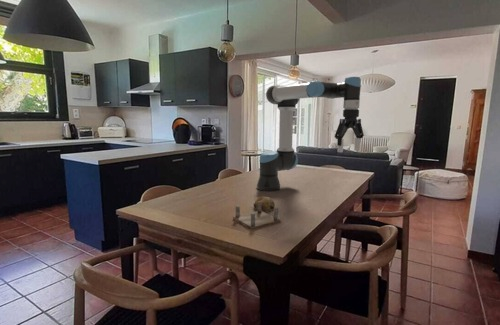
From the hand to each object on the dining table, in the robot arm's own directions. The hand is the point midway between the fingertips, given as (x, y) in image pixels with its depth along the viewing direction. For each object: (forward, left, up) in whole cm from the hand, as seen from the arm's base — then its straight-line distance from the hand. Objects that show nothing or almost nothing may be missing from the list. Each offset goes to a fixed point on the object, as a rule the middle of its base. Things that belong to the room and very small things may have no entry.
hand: (348, 151), depth 144 cm
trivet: (-6, -53, -28) cm, 61 cm away
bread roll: (-18, -40, -28) cm, 53 cm away
